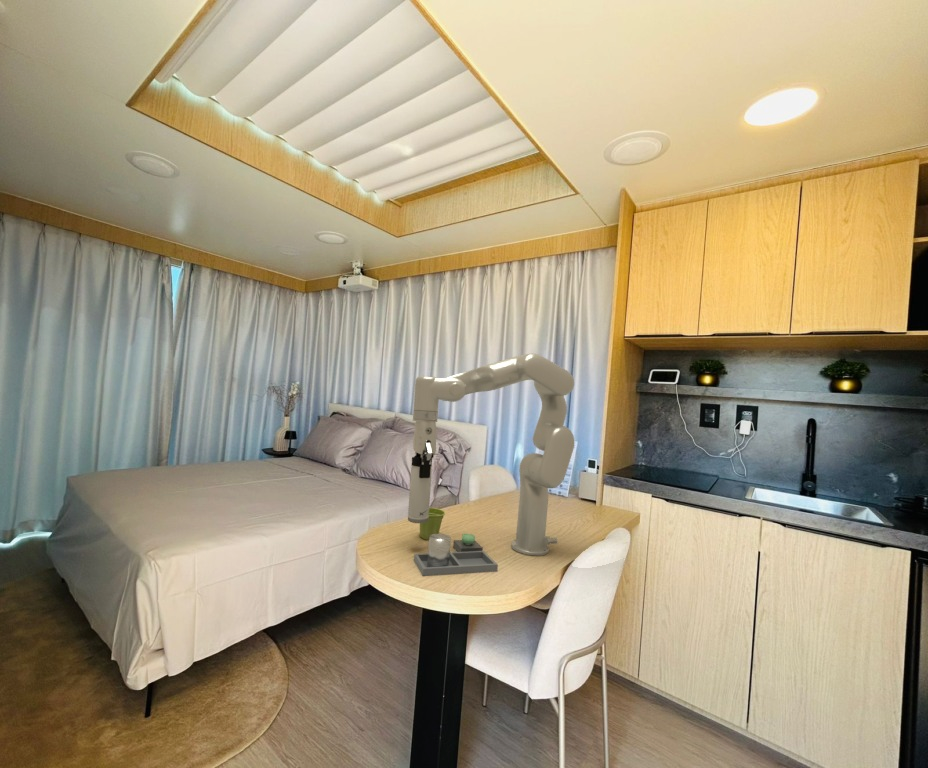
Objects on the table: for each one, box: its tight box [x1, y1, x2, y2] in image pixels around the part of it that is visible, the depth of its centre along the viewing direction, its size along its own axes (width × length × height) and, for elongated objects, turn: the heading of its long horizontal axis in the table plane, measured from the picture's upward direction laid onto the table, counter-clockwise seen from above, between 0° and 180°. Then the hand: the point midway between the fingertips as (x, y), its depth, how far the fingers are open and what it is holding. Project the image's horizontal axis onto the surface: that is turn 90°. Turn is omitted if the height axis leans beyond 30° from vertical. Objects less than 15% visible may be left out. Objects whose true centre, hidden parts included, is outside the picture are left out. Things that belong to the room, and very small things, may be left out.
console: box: [452, 539, 484, 552], centre depth 124 cm, size 7×7×3 cm
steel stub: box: [427, 533, 452, 567], centre depth 110 cm, size 6×6×8 cm
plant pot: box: [419, 507, 446, 541], centre depth 136 cm, size 9×9×9 cm
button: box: [461, 533, 476, 545], centre depth 124 cm, size 4×4×5 cm
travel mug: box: [407, 455, 435, 524], centre depth 122 cm, size 6×7×20 cm
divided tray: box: [413, 550, 499, 577], centre depth 112 cm, size 21×10×3 cm, turn 110°
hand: (421, 474), depth 122 cm, fingers closed on travel mug, 6 cm apart
